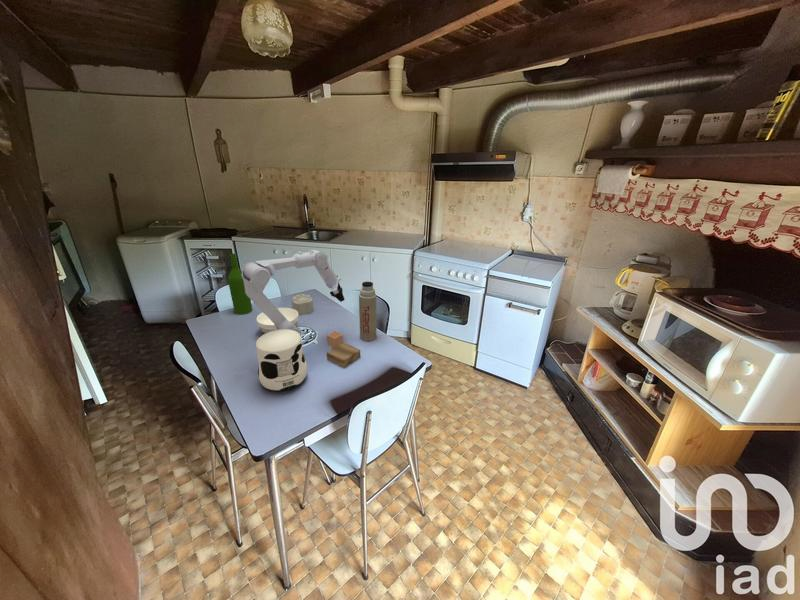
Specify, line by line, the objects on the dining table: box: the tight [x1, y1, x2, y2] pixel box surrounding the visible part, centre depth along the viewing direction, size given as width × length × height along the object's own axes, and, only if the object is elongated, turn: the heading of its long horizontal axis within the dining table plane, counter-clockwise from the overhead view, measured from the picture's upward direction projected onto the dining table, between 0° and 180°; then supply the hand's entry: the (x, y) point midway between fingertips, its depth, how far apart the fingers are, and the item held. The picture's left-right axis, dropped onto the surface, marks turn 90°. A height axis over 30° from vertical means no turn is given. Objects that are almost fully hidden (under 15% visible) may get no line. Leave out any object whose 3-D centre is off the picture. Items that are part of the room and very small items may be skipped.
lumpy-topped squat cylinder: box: [291, 293, 314, 316], centre depth 173 cm, size 10×13×9 cm
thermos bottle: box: [358, 281, 377, 342], centre depth 144 cm, size 8×8×28 cm
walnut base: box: [326, 341, 361, 369], centre depth 132 cm, size 10×10×4 cm
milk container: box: [255, 329, 308, 392], centre depth 114 cm, size 17×17×18 cm
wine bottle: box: [227, 253, 253, 316], centre depth 164 cm, size 9×9×32 cm
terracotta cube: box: [326, 331, 344, 348], centre depth 142 cm, size 5×5×5 cm
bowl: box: [256, 307, 299, 334], centre depth 150 cm, size 19×19×9 cm
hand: (341, 295), depth 142 cm, fingers open, 7 cm apart
